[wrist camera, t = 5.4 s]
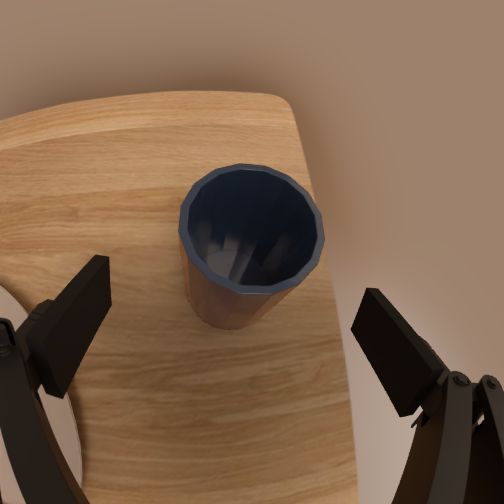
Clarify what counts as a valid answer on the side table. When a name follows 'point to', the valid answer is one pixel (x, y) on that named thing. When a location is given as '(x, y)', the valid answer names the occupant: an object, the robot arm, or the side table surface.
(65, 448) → the plate
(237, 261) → the tumbler
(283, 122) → the side table surface
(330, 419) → the side table surface
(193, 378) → the side table surface
